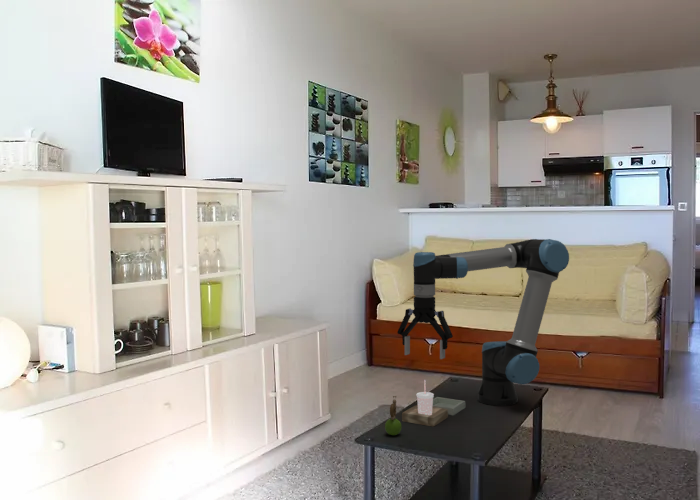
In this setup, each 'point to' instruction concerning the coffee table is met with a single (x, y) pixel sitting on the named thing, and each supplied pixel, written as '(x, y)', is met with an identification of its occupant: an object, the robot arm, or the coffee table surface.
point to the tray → (449, 404)
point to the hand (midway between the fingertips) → (424, 356)
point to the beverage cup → (425, 401)
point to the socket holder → (425, 416)
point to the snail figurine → (393, 421)
